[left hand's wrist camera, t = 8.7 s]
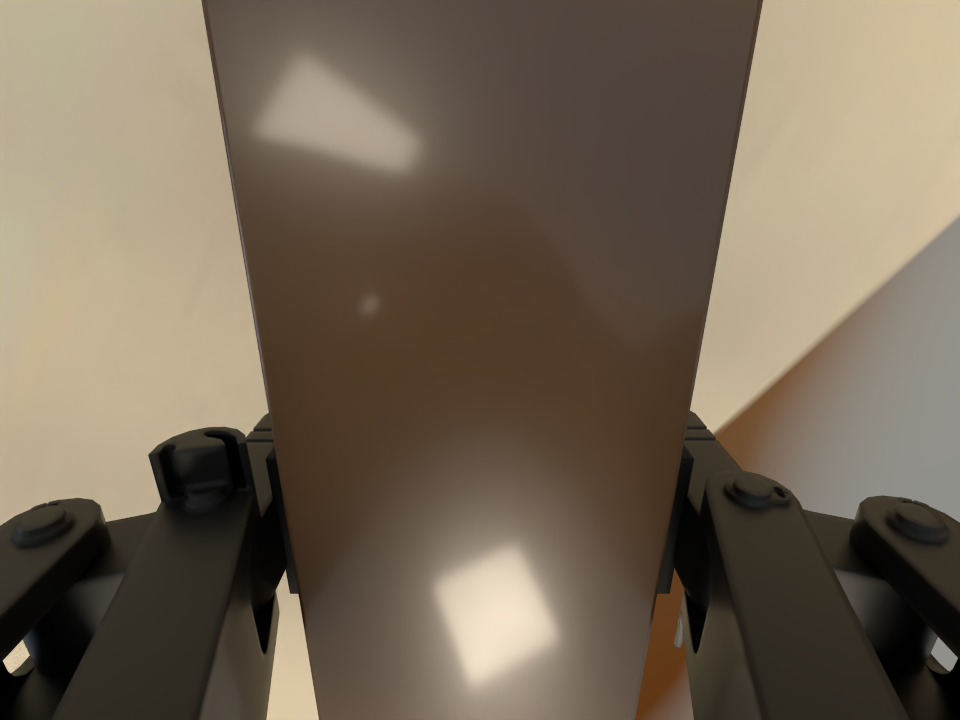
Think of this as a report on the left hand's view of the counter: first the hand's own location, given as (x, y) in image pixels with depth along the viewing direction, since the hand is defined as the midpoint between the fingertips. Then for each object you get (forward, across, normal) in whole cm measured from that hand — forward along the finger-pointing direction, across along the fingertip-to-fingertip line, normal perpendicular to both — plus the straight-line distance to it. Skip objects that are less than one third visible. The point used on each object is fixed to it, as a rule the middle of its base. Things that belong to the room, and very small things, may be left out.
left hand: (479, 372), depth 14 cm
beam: (+1, 0, -35) cm, 35 cm away
